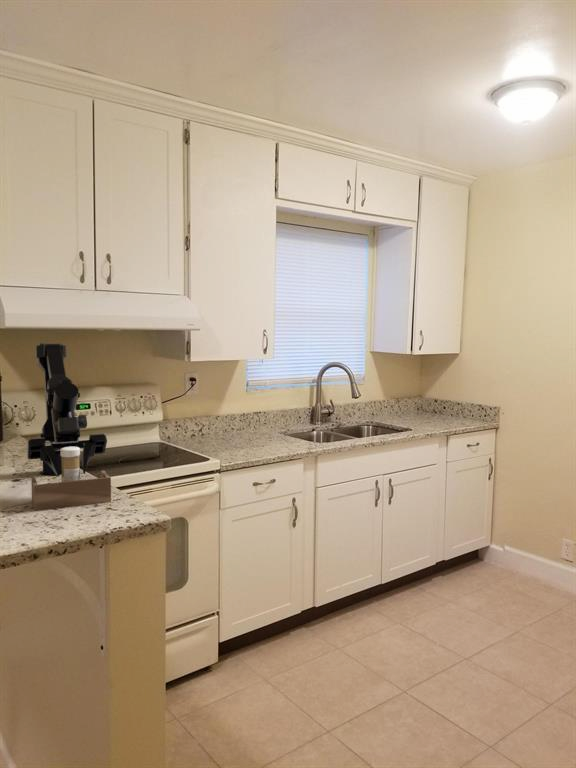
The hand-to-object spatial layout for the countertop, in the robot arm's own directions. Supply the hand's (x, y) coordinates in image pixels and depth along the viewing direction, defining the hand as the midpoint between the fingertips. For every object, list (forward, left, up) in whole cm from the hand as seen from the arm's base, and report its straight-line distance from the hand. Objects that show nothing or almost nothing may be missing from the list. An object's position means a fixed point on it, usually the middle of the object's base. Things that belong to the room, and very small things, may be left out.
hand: (71, 474), depth 147 cm
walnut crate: (-1, -1, -7) cm, 7 cm away
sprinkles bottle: (-1, -1, -7) cm, 7 cm away
